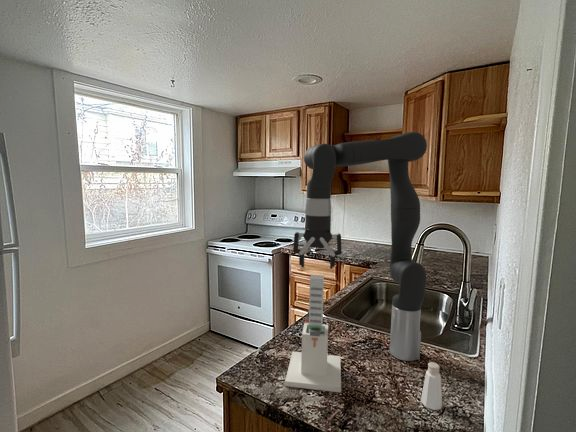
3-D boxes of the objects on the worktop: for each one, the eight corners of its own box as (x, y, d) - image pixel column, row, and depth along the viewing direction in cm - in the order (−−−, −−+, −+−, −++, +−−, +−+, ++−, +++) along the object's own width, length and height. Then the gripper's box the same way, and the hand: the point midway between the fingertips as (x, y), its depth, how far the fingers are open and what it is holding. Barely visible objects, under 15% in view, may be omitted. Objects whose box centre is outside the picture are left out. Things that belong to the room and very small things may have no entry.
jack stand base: (340, 360, 101) (341, 316, 99) (341, 392, 85) (342, 341, 84) (292, 355, 103) (293, 312, 102) (284, 386, 88) (285, 335, 86)
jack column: (321, 343, 95) (323, 275, 93) (321, 351, 91) (323, 279, 89) (309, 342, 96) (310, 274, 93) (308, 350, 91) (309, 279, 89)
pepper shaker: (435, 413, 78) (438, 373, 77) (416, 401, 82) (418, 363, 81) (446, 405, 81) (449, 366, 80) (427, 393, 85) (429, 356, 84)
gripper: (342, 213, 92) (340, 265, 94) (295, 212, 94) (294, 263, 96) (343, 215, 84) (341, 272, 86) (292, 214, 87) (291, 269, 88)
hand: (316, 267), depth 91 cm, fingers open, 8 cm apart
